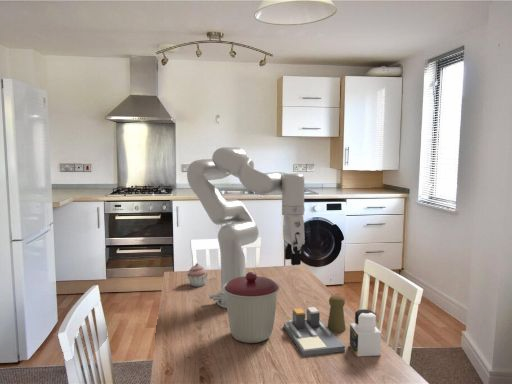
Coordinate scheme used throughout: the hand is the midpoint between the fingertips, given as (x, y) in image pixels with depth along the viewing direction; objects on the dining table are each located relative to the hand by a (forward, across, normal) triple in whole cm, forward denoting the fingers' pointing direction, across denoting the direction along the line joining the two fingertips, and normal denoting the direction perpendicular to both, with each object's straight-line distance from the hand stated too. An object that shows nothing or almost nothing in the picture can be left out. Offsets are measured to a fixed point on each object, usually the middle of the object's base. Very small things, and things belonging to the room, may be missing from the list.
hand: (292, 261), depth 138 cm
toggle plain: (+20, -7, -5) cm, 22 cm away
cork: (+22, -8, -13) cm, 27 cm away
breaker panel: (+22, -13, -2) cm, 25 cm away
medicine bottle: (+22, -24, -15) cm, 36 cm away
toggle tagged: (+20, -7, 0) cm, 21 cm away
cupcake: (+22, +47, +29) cm, 59 cm away
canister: (+22, -7, +16) cm, 28 cm away
